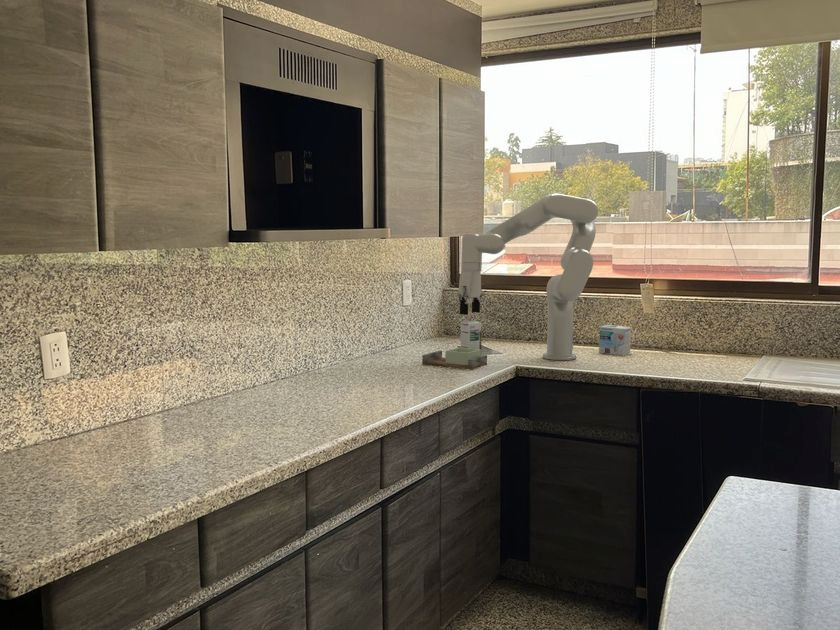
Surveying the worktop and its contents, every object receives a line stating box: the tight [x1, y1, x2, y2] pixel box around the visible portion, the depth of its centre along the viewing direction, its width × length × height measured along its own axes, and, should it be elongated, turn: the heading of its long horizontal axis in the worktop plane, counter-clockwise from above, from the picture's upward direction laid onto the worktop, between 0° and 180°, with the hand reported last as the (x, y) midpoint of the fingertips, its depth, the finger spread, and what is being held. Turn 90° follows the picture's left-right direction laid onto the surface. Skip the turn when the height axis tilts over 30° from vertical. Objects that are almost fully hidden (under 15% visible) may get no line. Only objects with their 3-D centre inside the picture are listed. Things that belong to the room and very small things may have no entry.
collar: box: [445, 347, 482, 365], centre depth 275 cm, size 9×9×4 cm
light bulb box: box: [598, 324, 632, 356], centre depth 301 cm, size 11×7×11 cm, turn 55°
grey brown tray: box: [421, 350, 488, 371], centre depth 277 cm, size 12×20×4 cm, turn 59°
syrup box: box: [460, 320, 482, 350], centre depth 286 cm, size 6×6×14 cm
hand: (469, 313), depth 285 cm, fingers open, 9 cm apart
